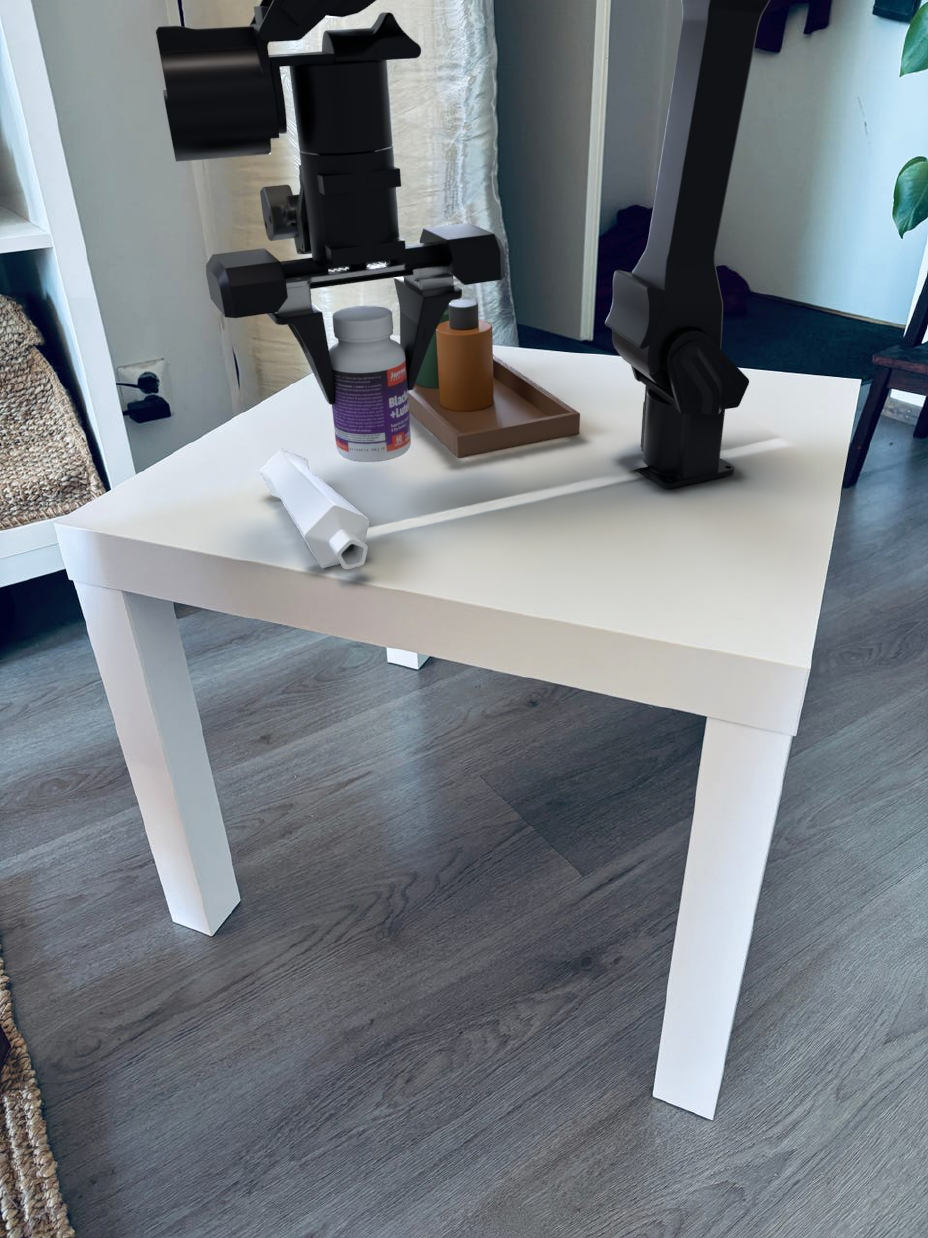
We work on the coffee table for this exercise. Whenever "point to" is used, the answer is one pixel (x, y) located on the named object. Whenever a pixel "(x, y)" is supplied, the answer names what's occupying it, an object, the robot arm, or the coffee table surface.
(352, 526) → the perfume bottle
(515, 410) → the tray
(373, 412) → the pill bottle
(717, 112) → the robot arm
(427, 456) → the coffee table surface
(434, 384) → the green bottle
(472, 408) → the amber bottle
